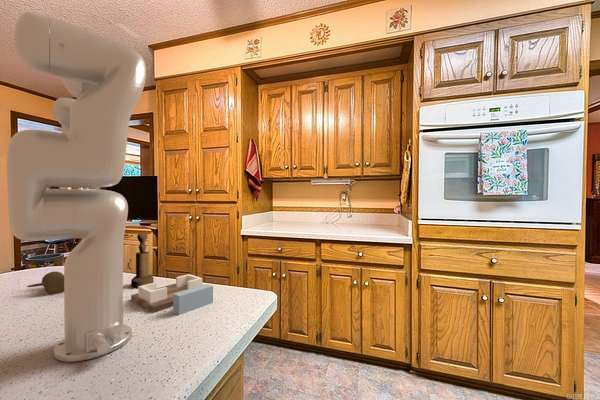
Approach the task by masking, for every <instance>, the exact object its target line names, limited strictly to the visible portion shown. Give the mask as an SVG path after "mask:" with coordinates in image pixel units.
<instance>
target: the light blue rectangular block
mask: <svg viewBox="0 0 600 400" xmlns="http://www.w3.org/2000/svg"><path fill="white" fill-rule="evenodd" d="M213 303H214V285H211V284H208V283H205V284H202V285H201V286H198V287H194V288H191V289H188V290H184V291H181V292H177V293H174V294H173V308H172V309H173V310H172V312H173V313H174V314H176V315H178V316H181V315H183V314H186V313H190V312H191V311H195V310H197V309H200V308H203V307H206V306H207V305H208V304H209V305H211V304H213ZM209 305H208V306H209Z"/></svg>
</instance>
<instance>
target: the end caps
mask: <svg viewBox="0 0 600 400" xmlns="http://www.w3.org/2000/svg"><path fill="white" fill-rule="evenodd" d="M175 283H176V287H181V286H184V285H187V290H188V289H191V288H194V287H198V286H201V285H203V278H202V277H200V276H197V275H193V274H190V273H187V274H185V275H180V276H177V277H175ZM163 287H164V286H163ZM156 288H157V282H154V283H151V284H146V285H142V286H138V289H137V290H138V297H140V298H141V299H143V300H145V301H147V302H149V303H153V302H157V301H160V300H163V299H167V287H164V288H160V287H159V288H160V289H156Z"/></svg>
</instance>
